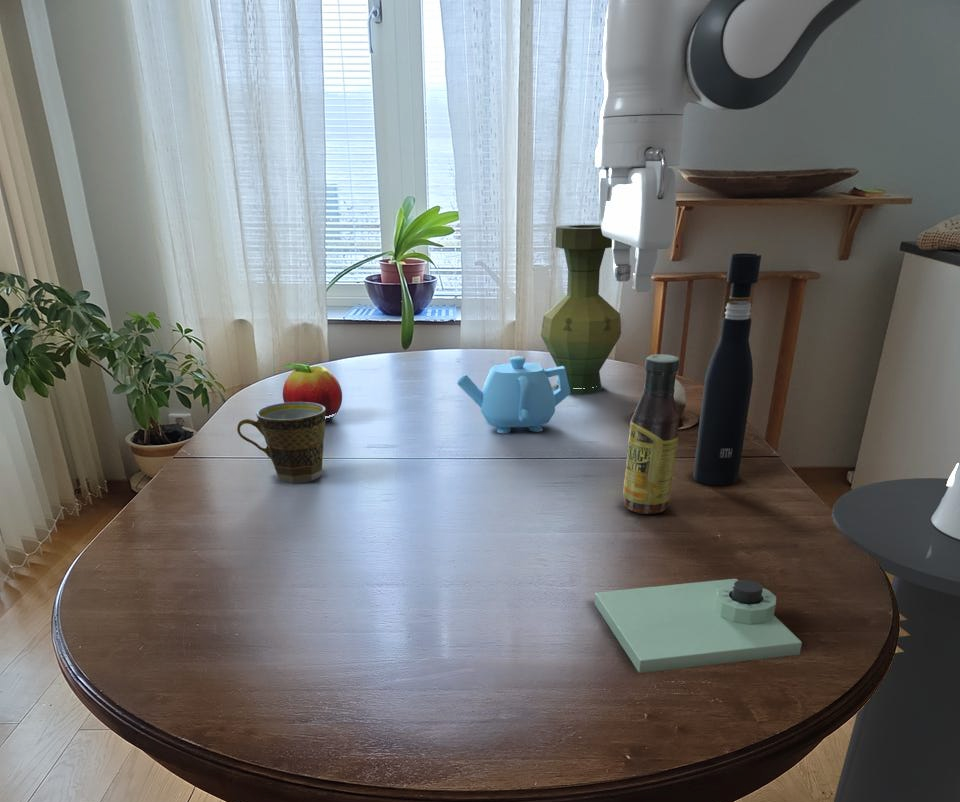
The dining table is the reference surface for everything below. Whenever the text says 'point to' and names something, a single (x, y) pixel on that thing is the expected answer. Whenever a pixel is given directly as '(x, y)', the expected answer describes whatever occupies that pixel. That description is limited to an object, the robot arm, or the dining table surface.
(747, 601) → the button
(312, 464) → the ceramic cup
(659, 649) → the green panel with knob
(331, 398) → the fruit
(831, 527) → the dining table surface
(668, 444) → the sauce bottle
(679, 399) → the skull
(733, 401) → the navy water bottle
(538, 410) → the teapot
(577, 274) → the vase
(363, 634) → the dining table surface
